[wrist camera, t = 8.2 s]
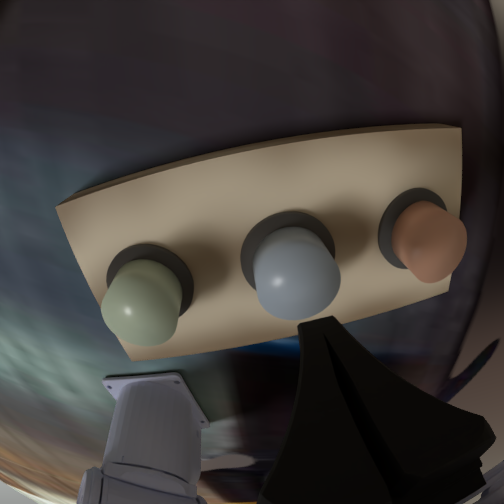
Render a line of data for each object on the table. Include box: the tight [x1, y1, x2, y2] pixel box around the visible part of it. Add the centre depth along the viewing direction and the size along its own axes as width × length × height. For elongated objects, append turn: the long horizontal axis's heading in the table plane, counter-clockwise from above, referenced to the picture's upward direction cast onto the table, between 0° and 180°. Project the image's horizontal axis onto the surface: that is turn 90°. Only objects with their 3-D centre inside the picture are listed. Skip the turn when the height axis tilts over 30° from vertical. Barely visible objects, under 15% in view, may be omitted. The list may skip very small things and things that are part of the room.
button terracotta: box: [391, 201, 467, 283], centre depth 15 cm, size 4×4×2 cm
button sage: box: [101, 259, 182, 346], centre depth 15 cm, size 4×4×2 cm
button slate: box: [253, 227, 341, 320], centre depth 15 cm, size 4×4×2 cm
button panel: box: [56, 123, 462, 361], centre depth 17 cm, size 12×24×3 cm, turn 101°
